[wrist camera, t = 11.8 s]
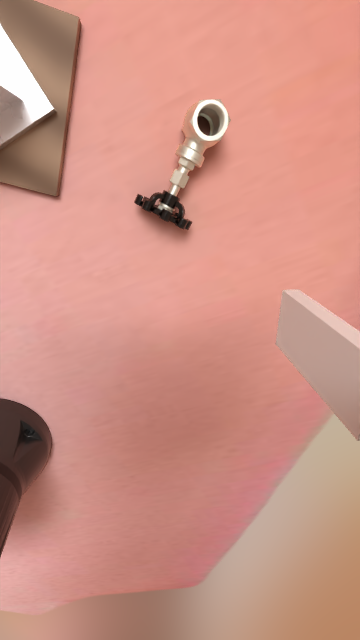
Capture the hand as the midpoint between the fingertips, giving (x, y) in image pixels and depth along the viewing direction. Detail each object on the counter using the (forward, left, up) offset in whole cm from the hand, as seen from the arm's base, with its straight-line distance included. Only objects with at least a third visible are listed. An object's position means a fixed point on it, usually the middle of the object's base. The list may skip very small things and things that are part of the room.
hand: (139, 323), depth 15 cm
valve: (+8, -3, -29) cm, 30 cm away
